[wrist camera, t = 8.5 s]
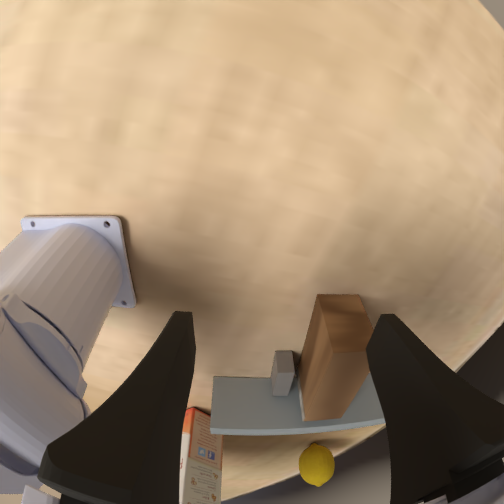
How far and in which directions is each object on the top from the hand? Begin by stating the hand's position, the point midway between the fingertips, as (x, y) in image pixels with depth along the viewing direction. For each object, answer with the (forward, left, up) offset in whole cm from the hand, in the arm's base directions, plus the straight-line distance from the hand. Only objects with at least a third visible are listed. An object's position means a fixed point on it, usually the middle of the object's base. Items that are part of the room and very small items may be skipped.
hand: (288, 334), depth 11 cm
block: (+6, -11, -10) cm, 16 cm away
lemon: (+11, -38, -10) cm, 41 cm away
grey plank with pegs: (+6, -15, -10) cm, 19 cm away
